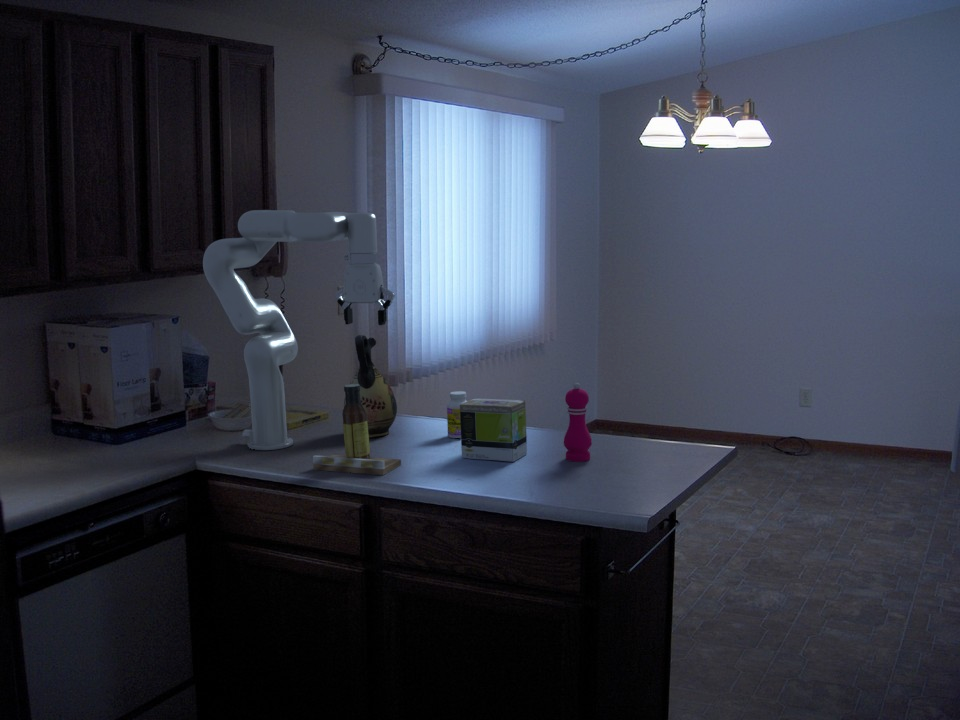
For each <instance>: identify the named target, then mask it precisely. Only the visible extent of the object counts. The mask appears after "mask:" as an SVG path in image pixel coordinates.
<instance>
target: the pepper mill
mask: <svg viewBox="0 0 960 720" xmlns="http://www.w3.org/2000/svg"><path fill="white" fill-rule="evenodd" d="M564 399H565V403H566V405H567V406H568V407H567V414H568V416H569V421H568V422H569V423H568V426H567V430H566V432H565V434H564V437H563V446H564V447H565V449H567V451H566V452H565V460H566V461H569V462H575V463H579V462H580V463H583V462H587V461H589V460H590V459H591V452H590V451H589V449H590V448H591V446H592V444H593V441H592V437H591V434H590V432H589V430H588V426H587V423H586V414H587V413H588V410H587V409H588V407H587V405H588V404H589V402H590V401H589V399H590V398H589V394H588V392H587V391H586V390H585V389H583V388H581V384H580V383H579V382H575V383H574V384H573V385H572V389H569V390H568V391H567V392H566V394H565V398H564Z"/></svg>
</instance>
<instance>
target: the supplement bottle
mask: <svg viewBox="0 0 960 720" xmlns="http://www.w3.org/2000/svg"><path fill="white" fill-rule="evenodd" d="M449 398H450V400H449V401H448V402H447V404H446V420H447V421H446V423H447V424H446V425H447V436H448V437H449V438H451V439H455V438H461V425H460V404H463V403H465V402H468V401H469V400H467V399H466V398H467V392H466V391H463V390H462V391H459V390H458V391H451V392H450V393H449Z"/></svg>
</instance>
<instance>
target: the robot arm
mask: <svg viewBox="0 0 960 720" xmlns="http://www.w3.org/2000/svg"><path fill="white" fill-rule="evenodd" d="M237 229H238V232H239V234H240V235H241V236H242V237H232V238H231V237H230V238H221V239H218V240H215V241H213V242H212V243H211V244H209V245H208V246H207V248H206V249H205V251H204V254H203V257H202V259H203V260H202V267H203V273H204V275H205V278H206V279H207V282H208V283H209V285H210V287H211V288H212V289H213V291H214V293H215V295H216V296H217V298H218V300H219V301H220V304H221V306H222V308H223V309H224V312H225V314H226V315H227V317H228V319H229V321H230V323H231V324H232V327H233V328H234V329H235V331H236V332H237V333H239V334H240V335H246V336H247V335H253V334H258V333H259V335H257V336H254V337H252V338H251V339H250V340H248V342H246V344H245V346H244V349H243V358H244V359H243V360H244V362H245V367H246V370H247V375H248V385H249V387H248V389H249V396H250V411H251V413H250V414H251V415H250V416H251V429H244V430H243V431H242V434H241V437H242V438H244V439H245V438H246V439H247V438H249V441H248V442H247V447H249V448H248V449H250V448H251V450H253V449H255V450H254V451H274V450H275V451H276V450H281V449H286V448H288V447H291V446H292V445H293V444H294V439H293V438H291V437H288V432H287V431H288V430H287V427H288V426H287V410H286V396H285V394H286V393H285V382H284V376H283V375H282V372H281V370H280V367H279V366H282V365H285V364H289V363H290V362H292V361H294V359H295V358H296V357H297V355H298V351H299V348H298V345H299V344H298V342H297V339H296V337H295V334H294V332H293V331H292V329H291V327H290V326H289V323H288V321H287V320H286V318H285V315H284V314H283V312H282V311H281V309H280V307H279V306H278V305H277V304H276V303H275V302H274V301H273V300H271V299H268V298H263V297H262V298H255V297H254V296H253V295H252V293H251V292H250V289H249V288H248V285H247V283H245V281H244V280H243V279H242V278H241V276H240V275H238V274H237V273H236V272H235V269H243V268H251V267H254V266H255V265H257V264H258V263H259V262H260V261H261V260H262V259H263V258H264V257H265V256H266V255H267V253H268V252H269V251H270V250H271V249H272V248H273V247H274V246H275V245H276V244H277V242H283V243H285V242H286V243H294V242H318V243H319V242H320V243H321V242H323V243H324V242H325V243H326V242H334V241H335V242H337V241H338V242H339V241H346V240H347V242H348V253H347V255H344V260H345V261H346V262H348V264H347V265H345V269H344V278H343V287H342V288H340V289H339V290H337V291H335V292H334V294H333V295H334V297H335V299H336V300H337V304H338V305H339V306H340V307H341V309H342V310H343V320H344V322H345V323H344V324H345V325H351V324H353V322H354V321H353V319H354V318H353V317H354V316H353V315H354V314H353V308H351V307H352V305H353V304H375V305H376V307H378V310H377V317H378V318H377V321H378V322H377V325H378V326H384V325H386V322H387V310H388V308H389V307H390V306H391V305H392V304H393V301H394V299H395V297H396V293H395V292H394V291H392V290H390V289H388V288H386V287H385V285H384V279H383V272H382V269H381V264H378V238H377V237H378V233H377V217H376V214H375V213H372V212H352V213H351V212H345V211H329V212H327V211H326V212H295V211H294V209H293V210H291V209H288V210H287V209H285V210H284V209H280V210H277V209H276V210H274V209H273V210H271V209H258V210H256V209H255V210H253V209H252V210H248V211H247V212H244V213H243V214H242V215H241V216H240V217H239V219H238V221H237ZM342 295H343V296H342ZM385 295H386V296H387V298H386V300H385V301H384V299H385Z"/></svg>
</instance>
